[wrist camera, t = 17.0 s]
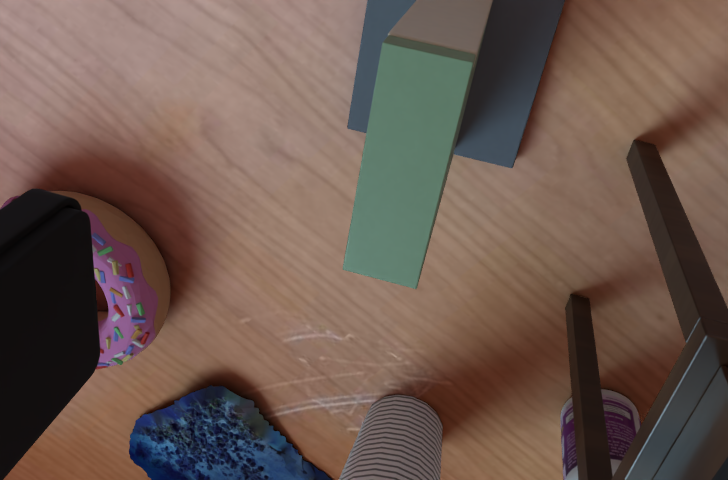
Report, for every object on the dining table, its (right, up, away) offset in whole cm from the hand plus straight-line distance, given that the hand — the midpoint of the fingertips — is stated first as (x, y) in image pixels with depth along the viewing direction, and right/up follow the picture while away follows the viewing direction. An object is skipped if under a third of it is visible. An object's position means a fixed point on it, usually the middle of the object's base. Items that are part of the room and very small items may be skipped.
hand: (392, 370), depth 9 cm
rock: (-11, -17, +49) cm, 53 cm away
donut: (-21, 0, +41) cm, 46 cm away
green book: (+4, +11, +27) cm, 29 cm away
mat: (+4, +12, +28) cm, 30 cm away
